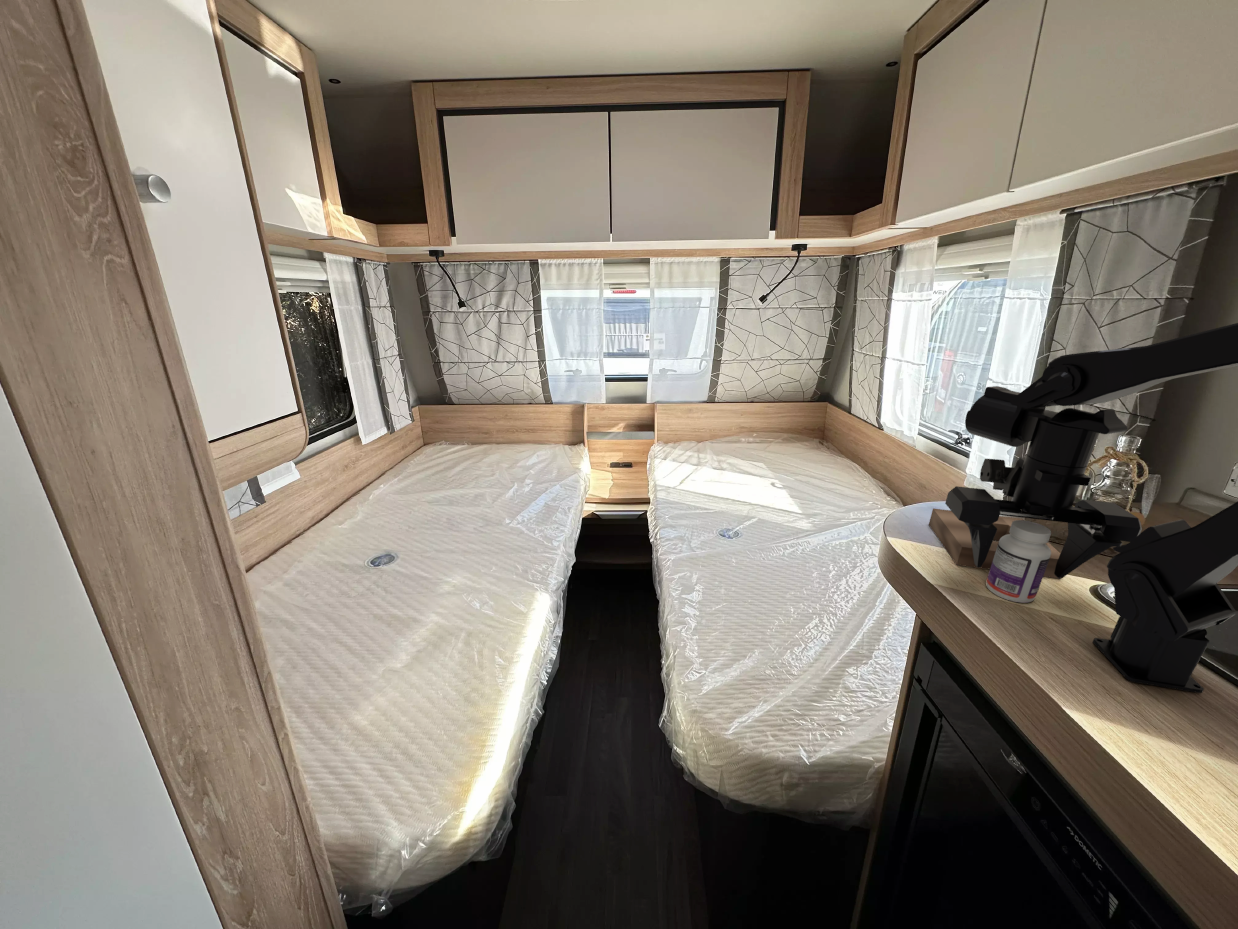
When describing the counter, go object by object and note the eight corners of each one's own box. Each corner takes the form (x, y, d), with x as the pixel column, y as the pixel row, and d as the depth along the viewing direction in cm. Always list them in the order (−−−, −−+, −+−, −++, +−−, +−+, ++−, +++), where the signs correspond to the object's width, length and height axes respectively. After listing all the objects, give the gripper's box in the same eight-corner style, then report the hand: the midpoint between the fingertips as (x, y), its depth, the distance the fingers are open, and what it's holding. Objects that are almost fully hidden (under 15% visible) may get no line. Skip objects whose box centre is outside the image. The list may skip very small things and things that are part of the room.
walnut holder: (1060, 578, 71) (1067, 560, 70) (956, 564, 74) (961, 546, 72) (1016, 535, 82) (1022, 518, 81) (928, 524, 85) (933, 508, 84)
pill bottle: (1017, 581, 70) (1040, 518, 66) (1044, 605, 65) (1070, 538, 61) (976, 578, 70) (996, 515, 67) (999, 602, 65) (1022, 535, 62)
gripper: (1105, 446, 66) (1065, 550, 72) (946, 432, 70) (920, 532, 76) (1169, 477, 56) (1116, 596, 62) (978, 459, 60) (945, 572, 66)
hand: (1016, 571), depth 66 cm, fingers open, 9 cm apart
